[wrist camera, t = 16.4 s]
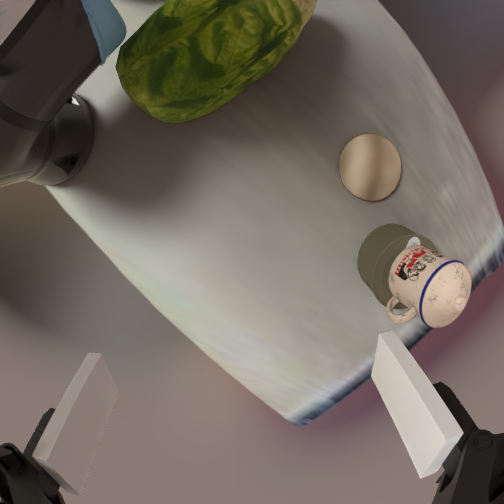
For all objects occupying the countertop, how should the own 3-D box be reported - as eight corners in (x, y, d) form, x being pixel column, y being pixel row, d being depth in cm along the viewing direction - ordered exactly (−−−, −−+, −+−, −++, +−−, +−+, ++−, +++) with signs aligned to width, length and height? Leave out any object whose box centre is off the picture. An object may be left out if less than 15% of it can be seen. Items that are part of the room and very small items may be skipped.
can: (350, 289, 49) (364, 310, 42) (362, 219, 45) (381, 231, 38) (408, 290, 50) (427, 308, 43) (423, 225, 46) (446, 237, 39)
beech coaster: (339, 200, 44) (342, 202, 43) (337, 133, 40) (339, 133, 39) (397, 198, 44) (400, 199, 43) (396, 135, 41) (400, 135, 39)
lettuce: (330, 44, 36) (370, 4, 21) (183, 147, 40) (153, 148, 26) (267, -22, 31) (278, -79, 17) (123, 76, 36) (73, 50, 21)
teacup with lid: (424, 230, 39) (480, 253, 28) (438, 278, 42) (487, 308, 30) (360, 277, 39) (408, 316, 28) (381, 323, 42) (423, 366, 31)
